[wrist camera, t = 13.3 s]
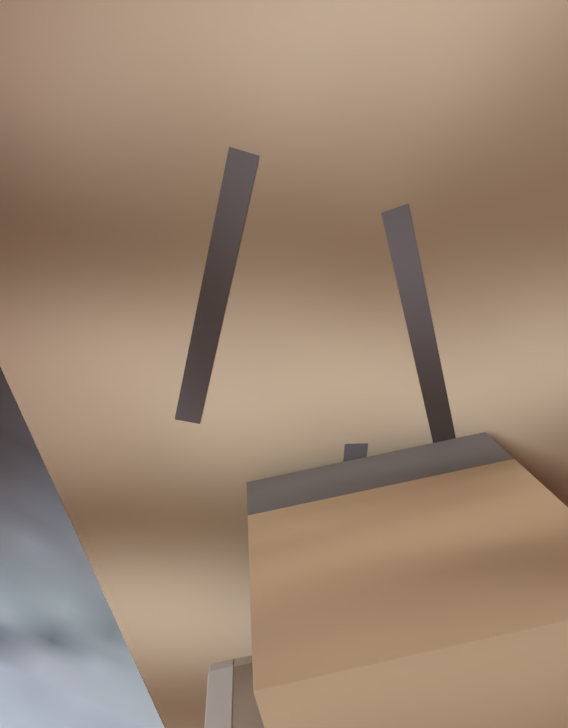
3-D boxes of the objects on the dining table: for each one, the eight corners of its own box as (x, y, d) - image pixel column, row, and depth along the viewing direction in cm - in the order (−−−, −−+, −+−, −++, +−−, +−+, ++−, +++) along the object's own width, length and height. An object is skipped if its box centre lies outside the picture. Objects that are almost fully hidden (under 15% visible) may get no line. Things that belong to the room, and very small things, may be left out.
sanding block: (246, 482, 9) (253, 691, 5) (484, 431, 9) (666, 597, 5) (307, 726, 12) (340, 977, 8) (486, 685, 12) (604, 910, 8)
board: (-135, -48, 7) (-213, -100, 5) (678, -185, 7) (765, -261, 6) (209, 773, 14) (207, 821, 13) (578, 688, 15) (605, 728, 14)
